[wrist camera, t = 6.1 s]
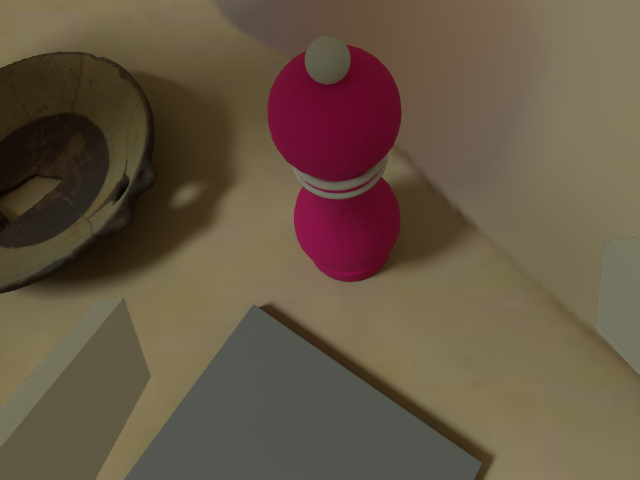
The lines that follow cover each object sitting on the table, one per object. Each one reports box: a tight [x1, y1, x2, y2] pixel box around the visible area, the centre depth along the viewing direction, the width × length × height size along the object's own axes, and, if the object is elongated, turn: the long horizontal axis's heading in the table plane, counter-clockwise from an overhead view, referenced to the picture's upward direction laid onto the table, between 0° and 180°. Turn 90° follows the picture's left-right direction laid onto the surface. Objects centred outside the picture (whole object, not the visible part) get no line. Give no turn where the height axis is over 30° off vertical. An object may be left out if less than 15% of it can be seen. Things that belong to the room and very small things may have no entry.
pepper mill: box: [268, 36, 401, 282], centre depth 26 cm, size 7×7×20 cm
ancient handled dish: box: [0, 52, 157, 294], centre depth 38 cm, size 22×30×8 cm
